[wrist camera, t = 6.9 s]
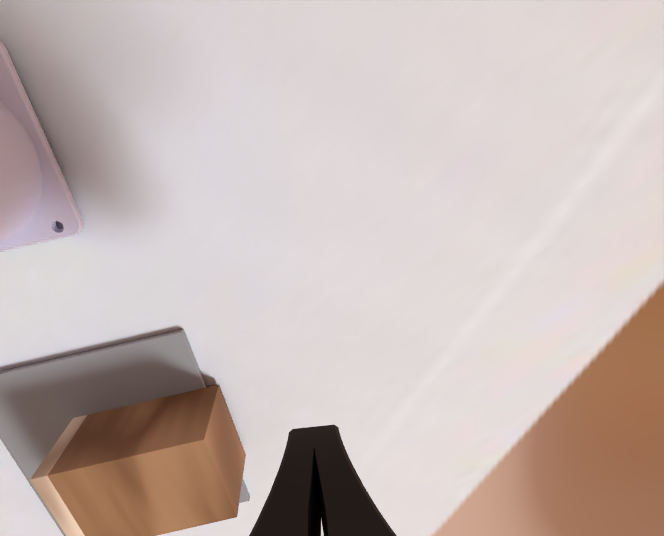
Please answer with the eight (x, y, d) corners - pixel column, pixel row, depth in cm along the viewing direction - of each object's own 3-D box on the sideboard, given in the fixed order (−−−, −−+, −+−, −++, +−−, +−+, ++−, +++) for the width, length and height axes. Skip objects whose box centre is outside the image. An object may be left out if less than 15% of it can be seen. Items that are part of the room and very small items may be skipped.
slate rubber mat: (70, 537, 26) (68, 541, 26) (-33, 378, 22) (-37, 382, 22) (249, 496, 26) (249, 500, 26) (183, 329, 22) (182, 332, 22)
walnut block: (245, 454, 25) (110, 485, 25) (219, 384, 23) (72, 418, 23) (236, 517, 21) (77, 553, 21) (204, 439, 19) (30, 479, 19)
